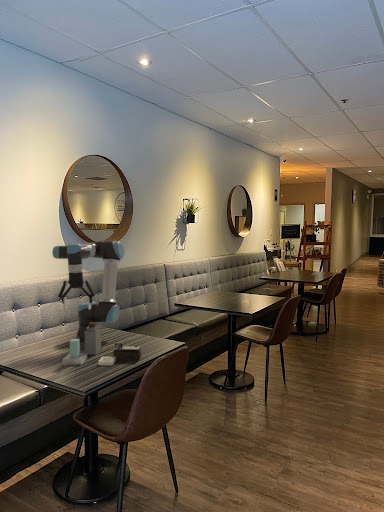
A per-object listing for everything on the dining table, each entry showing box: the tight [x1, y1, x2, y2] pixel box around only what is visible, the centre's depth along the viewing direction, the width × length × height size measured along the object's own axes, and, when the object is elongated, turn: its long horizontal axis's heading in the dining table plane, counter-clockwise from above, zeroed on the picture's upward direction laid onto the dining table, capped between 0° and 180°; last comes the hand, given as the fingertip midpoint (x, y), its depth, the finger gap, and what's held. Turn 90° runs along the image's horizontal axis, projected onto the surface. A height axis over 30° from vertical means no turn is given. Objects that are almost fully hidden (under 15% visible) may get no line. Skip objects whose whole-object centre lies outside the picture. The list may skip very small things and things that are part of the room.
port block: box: [62, 352, 88, 366], centre depth 216 cm, size 10×10×4 cm
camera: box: [112, 341, 142, 362], centre depth 220 cm, size 15×8×10 cm, turn 84°
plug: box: [69, 338, 81, 358], centre depth 216 cm, size 4×4×12 cm
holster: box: [97, 356, 117, 366], centre depth 213 cm, size 8×8×3 cm
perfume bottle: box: [84, 322, 102, 355], centre depth 230 cm, size 7×7×18 cm
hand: (77, 309), depth 224 cm, fingers open, 13 cm apart
